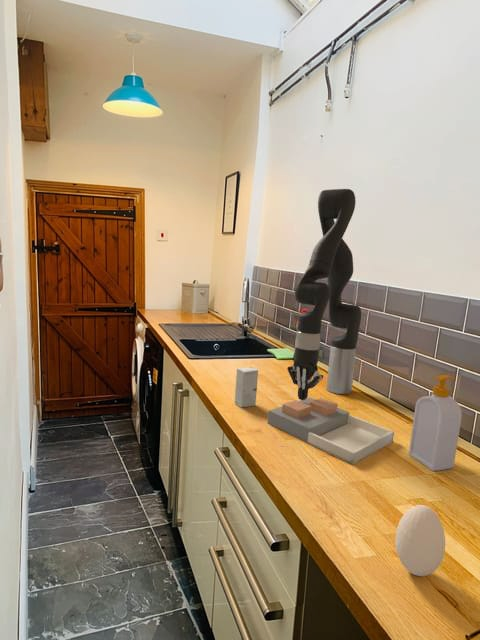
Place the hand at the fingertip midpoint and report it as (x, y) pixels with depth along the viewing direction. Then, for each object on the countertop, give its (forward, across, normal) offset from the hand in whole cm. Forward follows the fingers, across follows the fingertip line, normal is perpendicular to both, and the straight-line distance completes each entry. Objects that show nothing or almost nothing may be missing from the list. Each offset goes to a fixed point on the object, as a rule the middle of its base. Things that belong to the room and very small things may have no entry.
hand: (302, 399), depth 131 cm
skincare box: (+5, +16, +9) cm, 19 cm away
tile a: (+1, -8, 0) cm, 8 cm away
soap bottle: (+5, -40, -4) cm, 40 cm away
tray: (+5, -21, +4) cm, 22 cm away
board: (+5, -6, +4) cm, 9 cm away
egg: (+6, -54, +37) cm, 65 cm away
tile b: (+1, -4, +8) cm, 10 cm away
